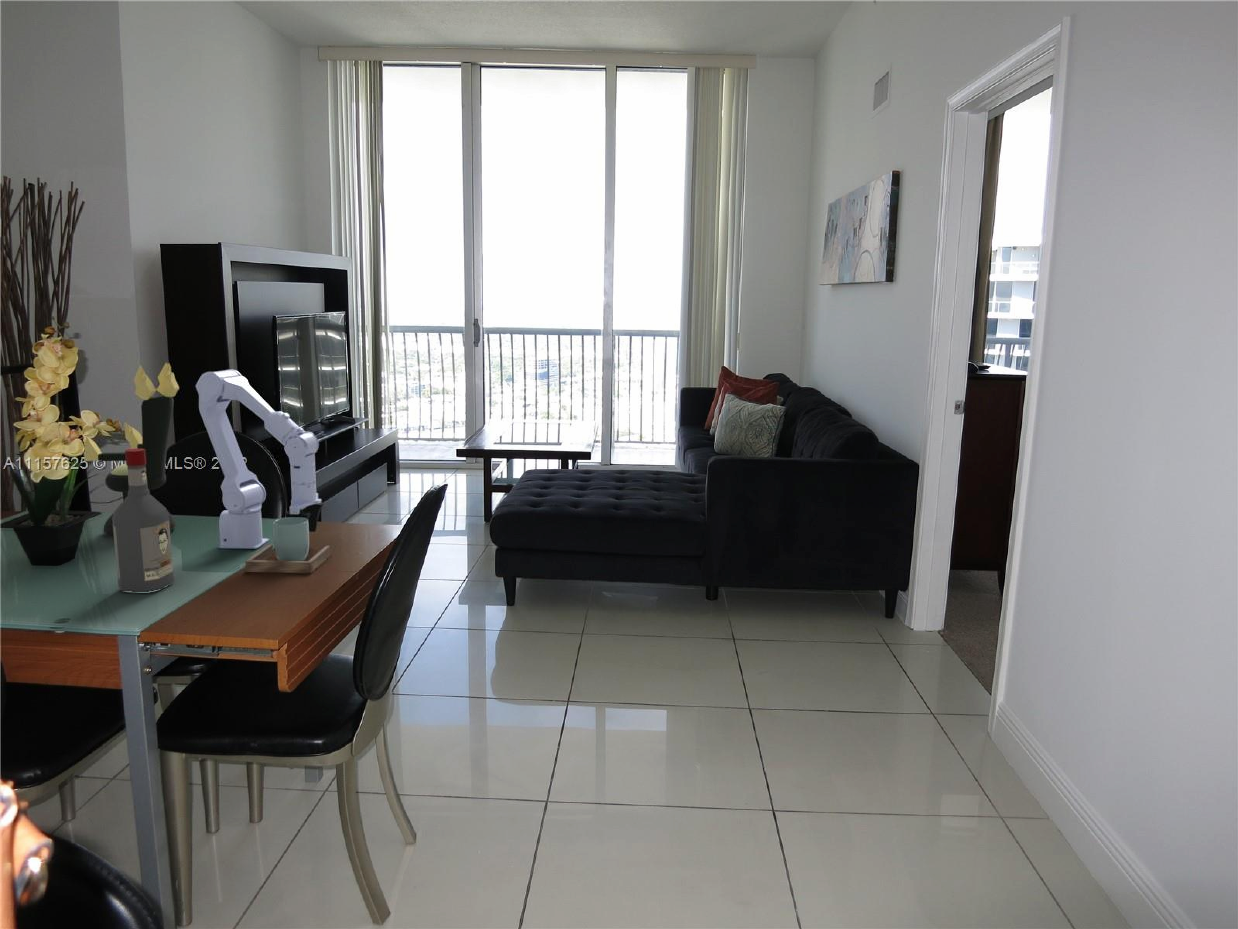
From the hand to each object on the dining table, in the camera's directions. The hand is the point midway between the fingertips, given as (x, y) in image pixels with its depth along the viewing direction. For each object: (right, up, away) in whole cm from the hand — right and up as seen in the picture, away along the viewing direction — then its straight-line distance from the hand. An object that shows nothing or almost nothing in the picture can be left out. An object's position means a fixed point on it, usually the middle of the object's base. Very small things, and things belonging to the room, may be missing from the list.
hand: (305, 535), depth 217 cm
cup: (0, -6, -9) cm, 11 cm away
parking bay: (0, -6, -10) cm, 12 cm away
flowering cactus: (-46, 0, +13) cm, 48 cm away
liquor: (-24, -9, -29) cm, 39 cm away
